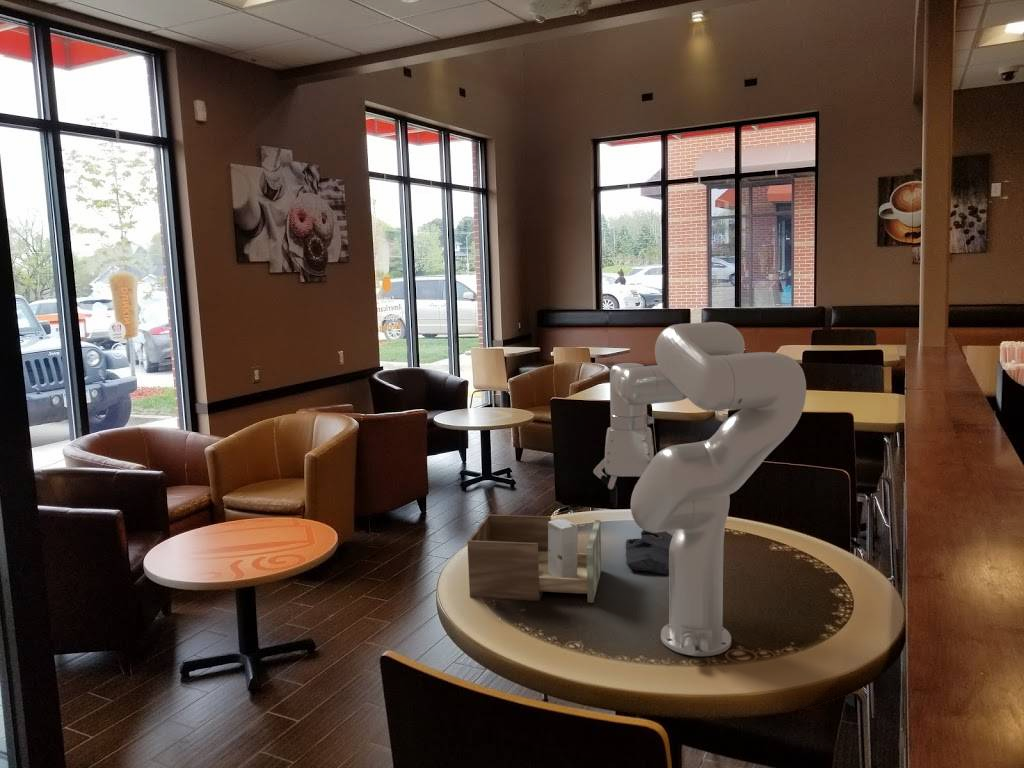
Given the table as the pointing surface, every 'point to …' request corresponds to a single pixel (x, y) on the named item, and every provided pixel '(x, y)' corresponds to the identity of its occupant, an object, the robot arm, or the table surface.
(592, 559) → the pull-out wooden drawer
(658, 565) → the black tote bag
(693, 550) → the robot arm
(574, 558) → the skincare box
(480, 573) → the walnut box
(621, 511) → the table surface
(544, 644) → the table surface
